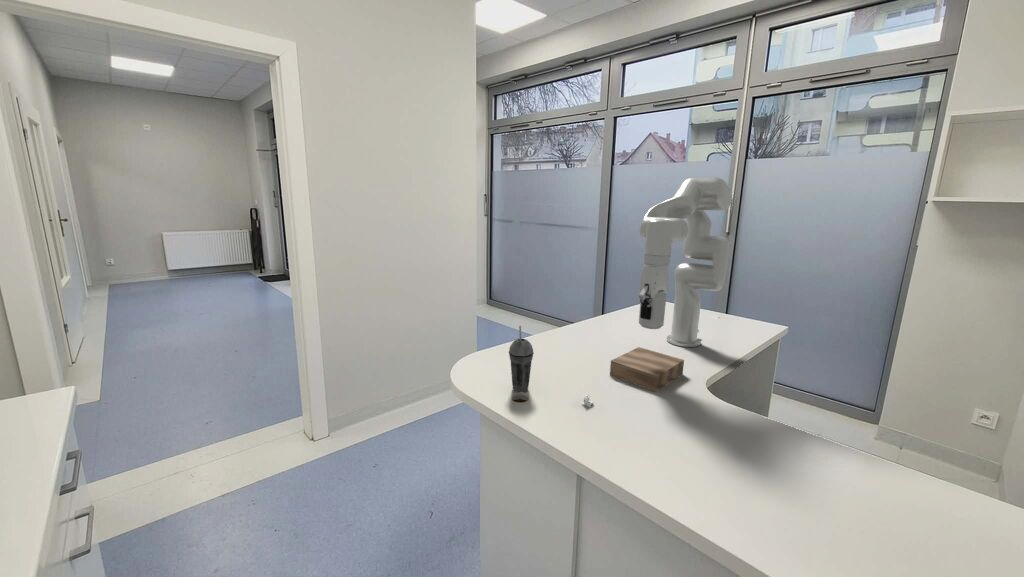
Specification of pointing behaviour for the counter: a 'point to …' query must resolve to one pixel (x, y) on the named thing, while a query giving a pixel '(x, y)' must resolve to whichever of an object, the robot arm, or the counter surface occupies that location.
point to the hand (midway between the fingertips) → (651, 315)
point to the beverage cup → (520, 363)
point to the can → (655, 312)
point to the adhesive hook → (587, 401)
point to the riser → (647, 368)
